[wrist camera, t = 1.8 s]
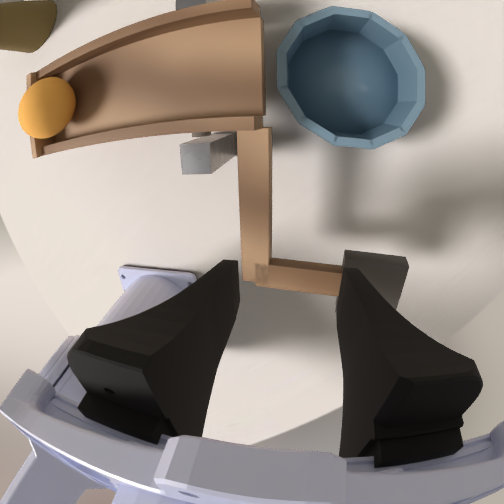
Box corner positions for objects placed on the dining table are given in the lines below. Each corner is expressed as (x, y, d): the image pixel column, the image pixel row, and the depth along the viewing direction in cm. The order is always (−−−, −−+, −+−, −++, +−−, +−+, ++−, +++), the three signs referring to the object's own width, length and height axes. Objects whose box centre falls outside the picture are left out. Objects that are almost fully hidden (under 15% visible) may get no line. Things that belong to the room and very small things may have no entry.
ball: (89, 126, 14) (37, 140, 11) (58, 135, 15) (13, 149, 12) (86, 67, 12) (33, 72, 9) (55, 83, 13) (8, 92, 10)
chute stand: (235, 155, 19) (211, 173, 14) (212, 156, 19) (182, 174, 14) (231, 9, 14) (206, -20, 9) (208, 13, 14) (176, -14, 9)
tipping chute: (389, 301, 16) (396, 339, 13) (90, 257, 22) (64, 278, 19) (420, 22, 8) (441, 2, 5) (61, 67, 14) (26, 70, 11)
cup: (399, 146, 16) (421, 156, 13) (282, 135, 18) (277, 142, 14) (400, 36, 12) (421, 23, 9) (280, 24, 14) (274, 4, 10)
